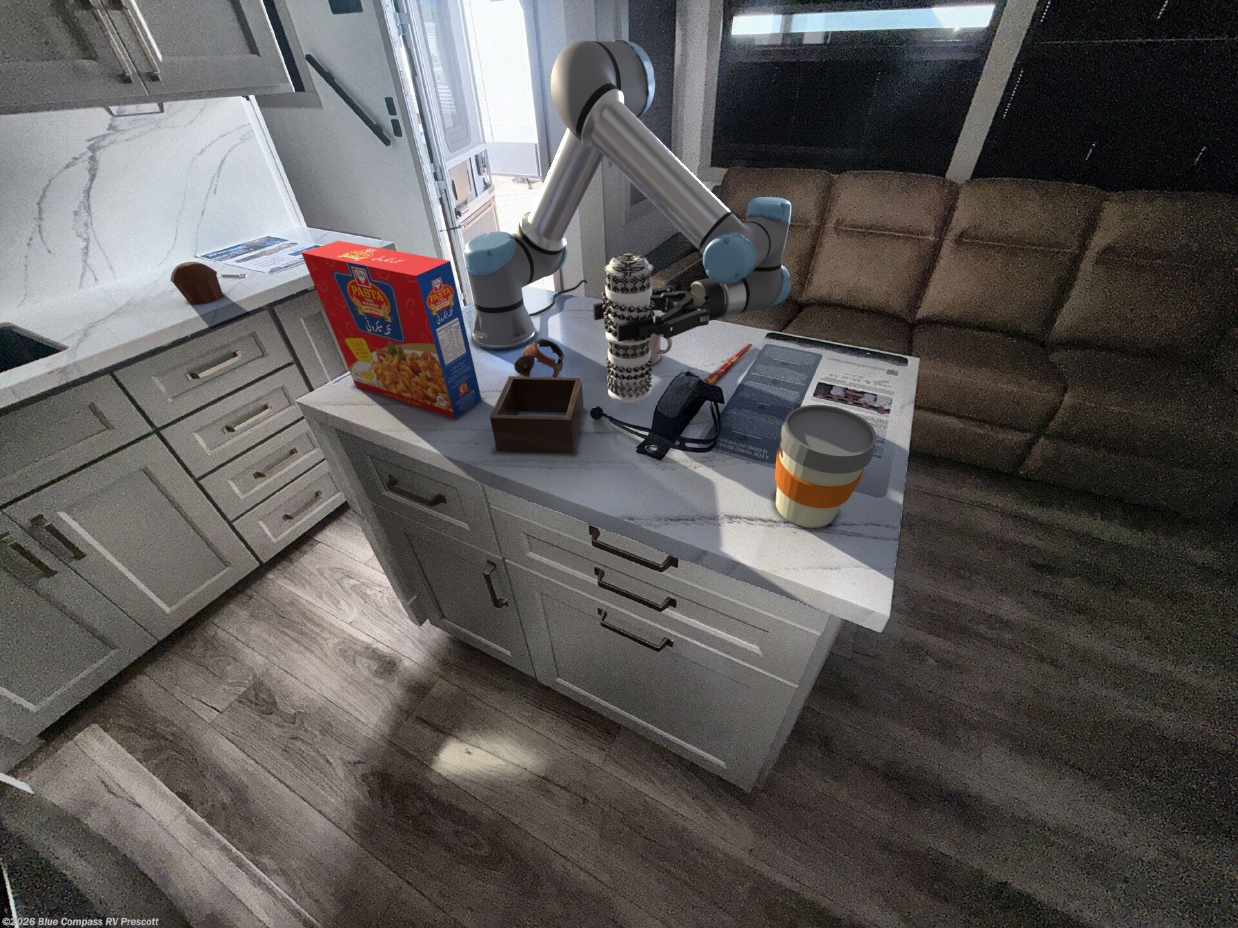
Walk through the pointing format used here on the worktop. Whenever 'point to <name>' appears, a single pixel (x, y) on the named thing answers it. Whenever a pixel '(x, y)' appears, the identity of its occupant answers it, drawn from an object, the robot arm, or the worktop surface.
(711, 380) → the chopstick
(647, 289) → the patterned vase
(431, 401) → the pasta box
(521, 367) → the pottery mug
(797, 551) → the worktop surface
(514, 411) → the walnut box
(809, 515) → the reusable coffee cup
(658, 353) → the teacup with lid
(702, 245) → the robot arm
